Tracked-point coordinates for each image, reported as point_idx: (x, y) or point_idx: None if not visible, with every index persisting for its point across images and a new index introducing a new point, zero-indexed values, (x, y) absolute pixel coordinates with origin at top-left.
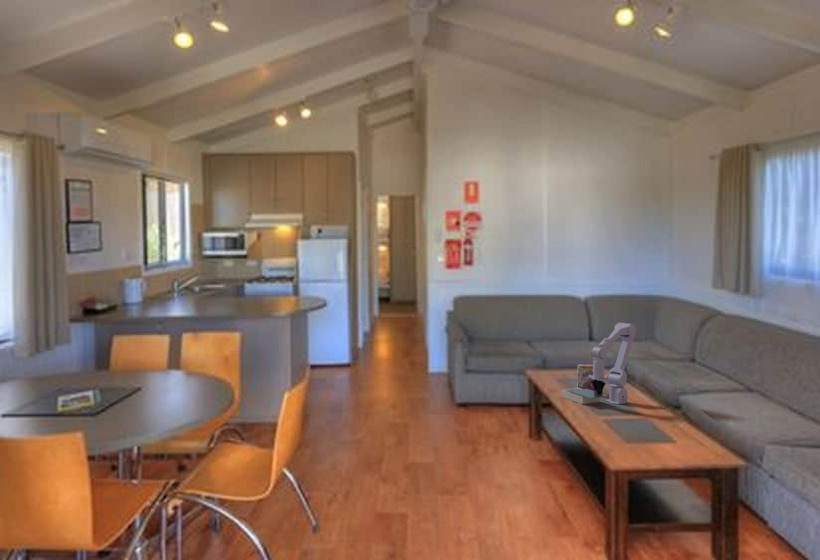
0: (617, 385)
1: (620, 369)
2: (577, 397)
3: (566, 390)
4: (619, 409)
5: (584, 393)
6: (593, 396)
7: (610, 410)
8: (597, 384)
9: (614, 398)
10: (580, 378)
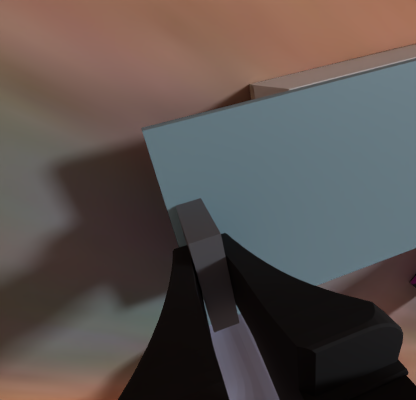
0: None
1: None
2: (349, 68)
3: None
4: (51, 302)
5: (347, 151)
6: (195, 190)
7: (17, 237)
8: (164, 375)
9: (228, 336)
10: None
